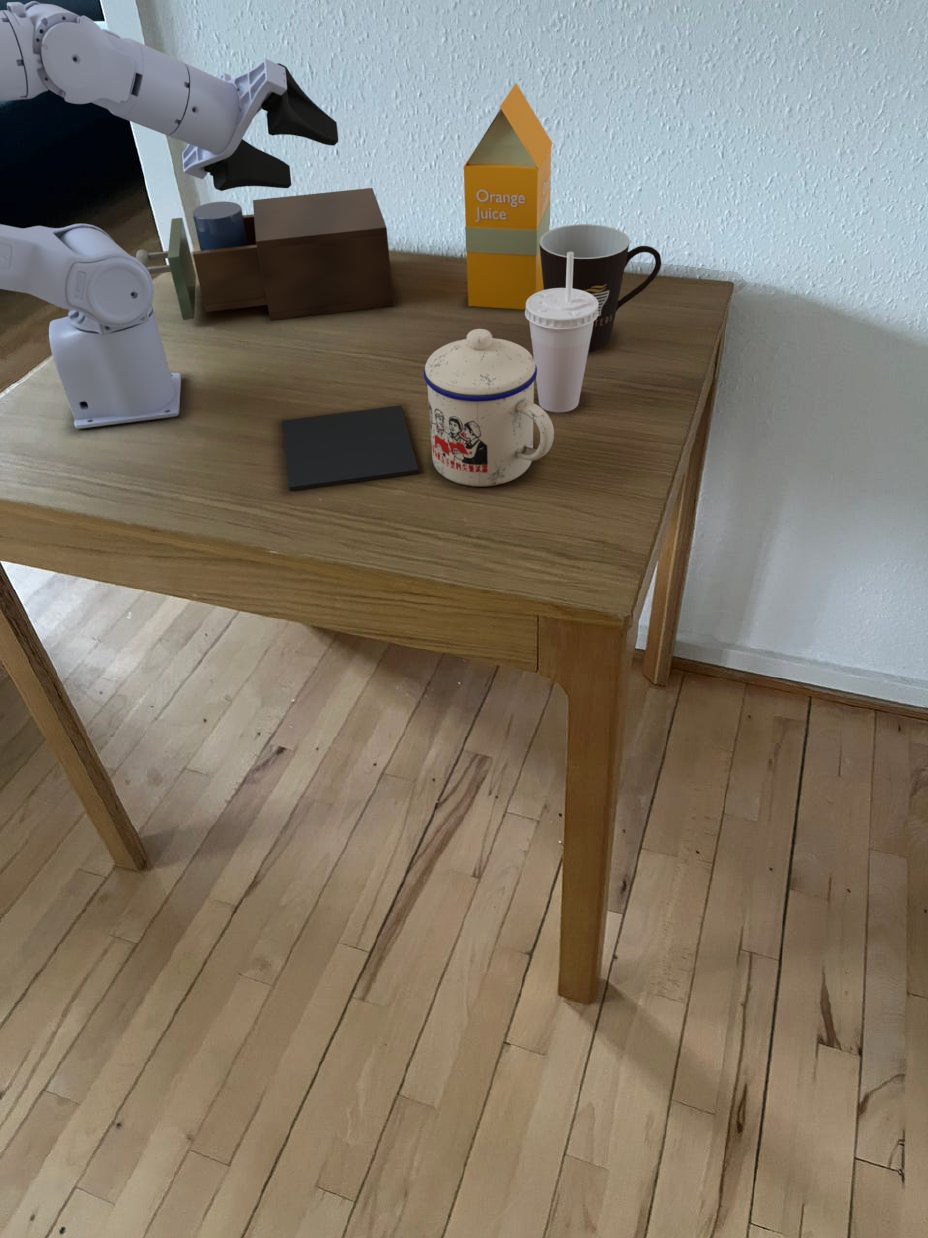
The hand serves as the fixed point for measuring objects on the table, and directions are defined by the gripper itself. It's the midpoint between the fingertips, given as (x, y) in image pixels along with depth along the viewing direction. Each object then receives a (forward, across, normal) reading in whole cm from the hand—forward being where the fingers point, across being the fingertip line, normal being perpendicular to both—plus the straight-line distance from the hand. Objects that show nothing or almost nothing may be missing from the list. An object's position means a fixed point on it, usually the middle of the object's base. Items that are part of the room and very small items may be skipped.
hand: (311, 155), depth 88 cm
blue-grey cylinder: (+4, +22, +1) cm, 23 cm away
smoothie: (+18, -11, +25) cm, 32 cm away
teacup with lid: (+8, -11, +32) cm, 35 cm away
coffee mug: (+27, -9, +16) cm, 32 cm away
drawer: (+4, +24, +2) cm, 24 cm away
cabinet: (+13, +17, +2) cm, 22 cm away
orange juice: (+27, +2, +6) cm, 28 cm away
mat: (+1, 0, +28) cm, 28 cm away
